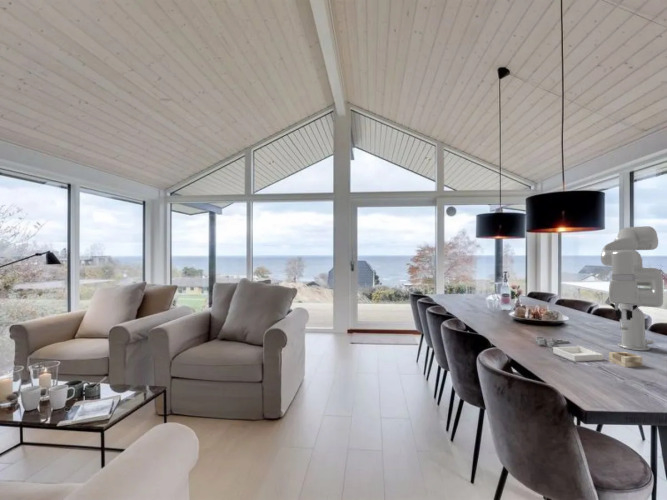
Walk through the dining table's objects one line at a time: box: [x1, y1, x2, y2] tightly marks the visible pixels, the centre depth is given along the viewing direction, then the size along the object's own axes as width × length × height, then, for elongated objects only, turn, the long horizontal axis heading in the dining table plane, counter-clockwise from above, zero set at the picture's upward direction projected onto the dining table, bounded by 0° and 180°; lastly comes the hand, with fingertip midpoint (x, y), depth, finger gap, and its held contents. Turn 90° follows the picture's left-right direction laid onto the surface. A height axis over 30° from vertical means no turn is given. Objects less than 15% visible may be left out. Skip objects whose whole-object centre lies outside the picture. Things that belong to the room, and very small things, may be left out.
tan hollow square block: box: [608, 351, 643, 368], centre depth 153 cm, size 8×8×5 cm
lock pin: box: [619, 308, 629, 330], centre depth 153 cm, size 3×3×9 cm
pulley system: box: [535, 336, 570, 351], centre depth 189 cm, size 27×5×15 cm
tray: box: [552, 345, 604, 364], centre depth 165 cm, size 14×14×4 cm
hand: (624, 318), depth 153 cm, fingers closed on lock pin, 3 cm apart
